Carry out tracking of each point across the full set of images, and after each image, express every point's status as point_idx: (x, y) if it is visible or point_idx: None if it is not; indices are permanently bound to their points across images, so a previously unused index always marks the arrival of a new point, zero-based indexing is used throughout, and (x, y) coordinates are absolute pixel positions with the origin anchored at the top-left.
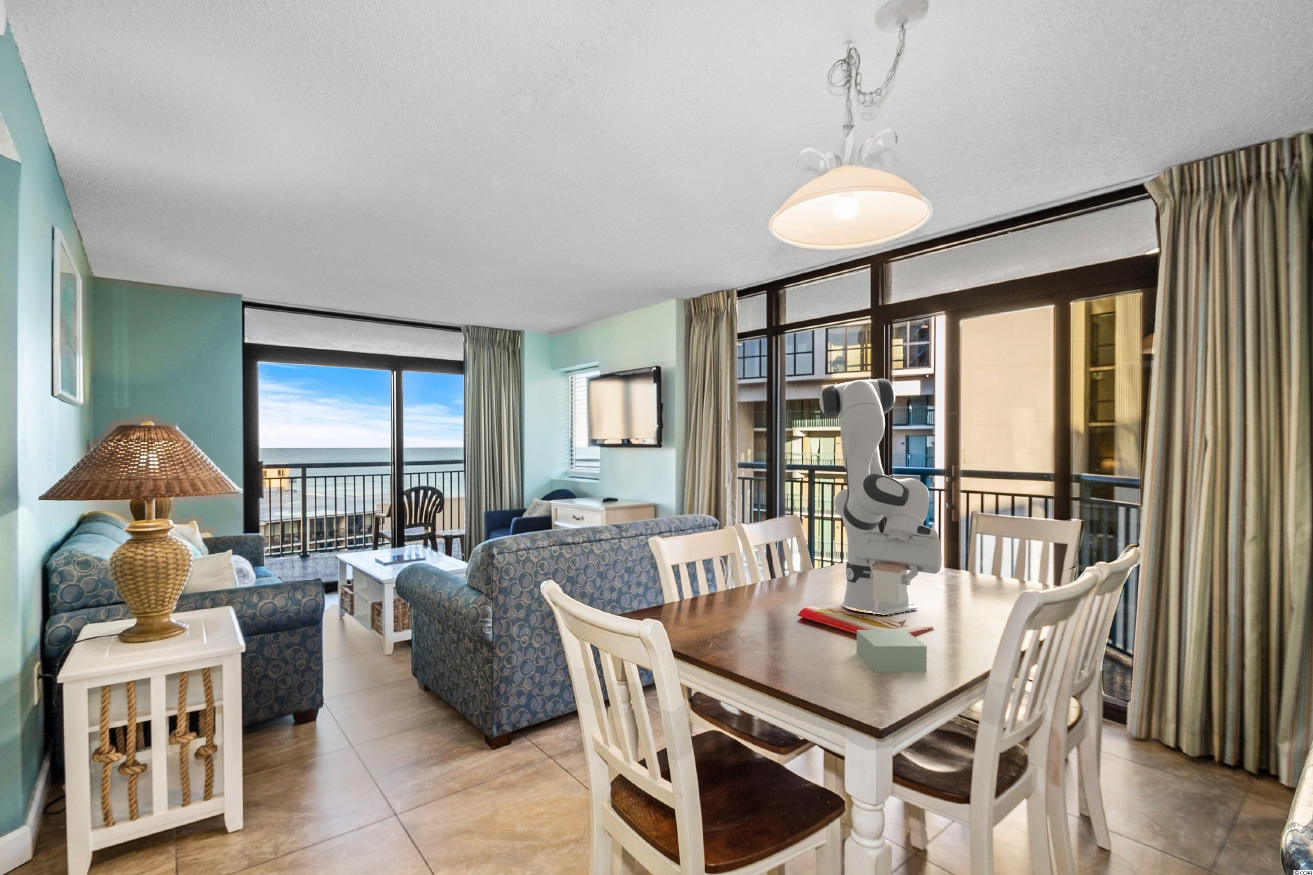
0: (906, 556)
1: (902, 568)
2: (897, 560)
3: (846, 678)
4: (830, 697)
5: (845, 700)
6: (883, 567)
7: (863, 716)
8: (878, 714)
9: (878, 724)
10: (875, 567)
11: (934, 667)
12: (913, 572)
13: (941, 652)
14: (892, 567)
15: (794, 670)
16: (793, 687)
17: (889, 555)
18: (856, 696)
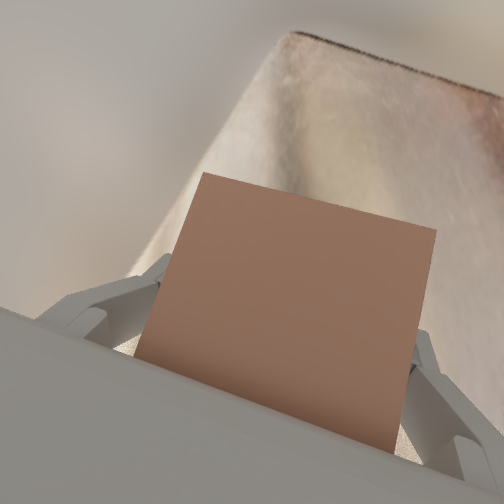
0: (46, 415)
1: (170, 266)
2: (191, 381)
3: (360, 187)
4: (372, 95)
5: (346, 94)
6: (334, 216)
7: (312, 54)
8: (290, 68)
9: (289, 40)
10: (408, 227)
11: None
12: (100, 290)
13: None
14: (255, 248)
15: (474, 188)
16: (447, 108)
17: (290, 496)
18: (331, 116)
